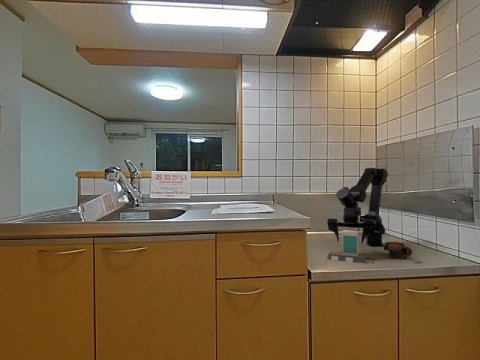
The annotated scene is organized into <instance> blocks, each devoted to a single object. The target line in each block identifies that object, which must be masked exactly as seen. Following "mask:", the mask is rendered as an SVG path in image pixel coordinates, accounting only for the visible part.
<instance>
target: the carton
mask: <svg viewBox="0 0 480 360" xmlns="http://www.w3.org/2000/svg"><path fill="white" fill-rule="evenodd" d="M341 238H342V239H341V241H342V242H341V247H342V249H341V252H342V255H347V256H357V257H358V254H359V230H352V229H351V230H350V229H343V230H342V231H341Z"/></svg>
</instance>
